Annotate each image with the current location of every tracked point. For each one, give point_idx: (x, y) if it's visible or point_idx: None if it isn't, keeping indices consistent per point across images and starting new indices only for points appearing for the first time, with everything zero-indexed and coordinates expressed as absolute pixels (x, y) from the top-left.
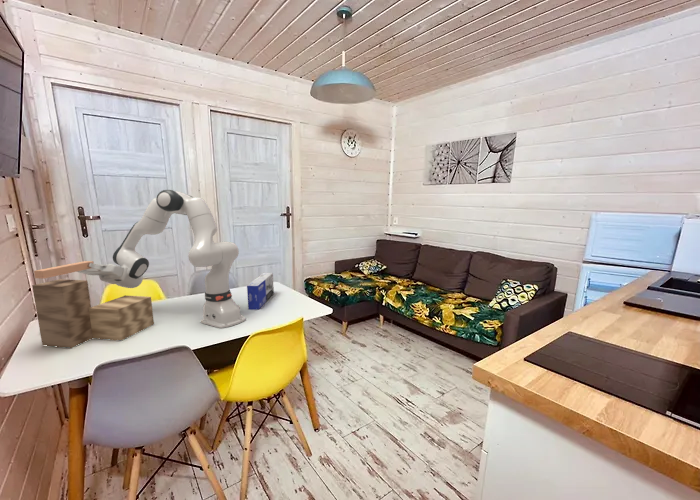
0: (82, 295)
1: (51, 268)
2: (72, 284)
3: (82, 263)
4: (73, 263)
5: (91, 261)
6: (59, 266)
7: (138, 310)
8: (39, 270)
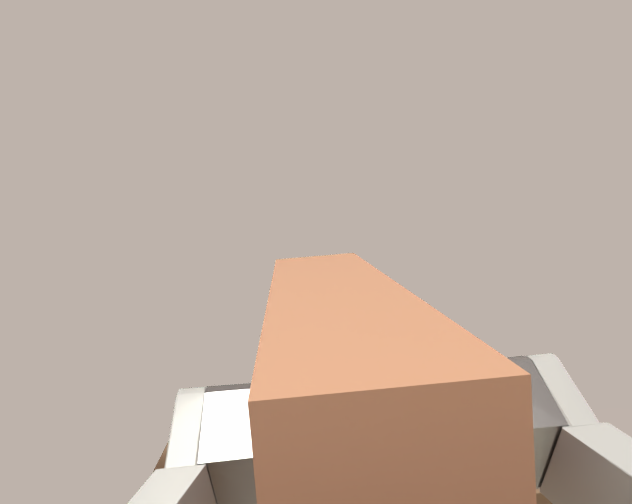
0: None
1: (317, 266)
2: (166, 451)
3: (264, 328)
4: (411, 304)
5: (261, 383)
6: (351, 275)
7: None
8: (324, 256)
